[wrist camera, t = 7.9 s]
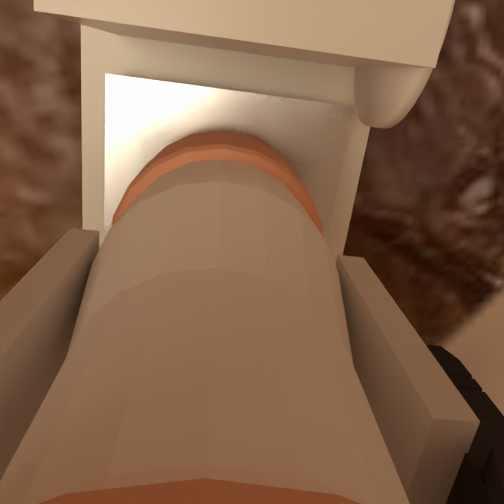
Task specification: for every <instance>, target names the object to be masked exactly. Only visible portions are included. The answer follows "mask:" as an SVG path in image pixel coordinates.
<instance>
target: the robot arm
mask: <svg viewBox="0 0 504 504" xmlns="http://www.w3.org/2000/svg"><path fill="white" fill-rule="evenodd" d="M98 251H99V231H95V230H85V229H75V228H70V229H69V230H68V231H67V232H66V233H65V235H64V236H63V237H62V238H61V239H60V240H59V241H58V242H57V243H56V244H55V245H54V246H53V247H52V248H51V249H50V250H49V251H48V252H47V253H46V254H45V255H44V256H43V257H42V258H41V259H40V260H39V261H38V263H37V264H36V265H35V266H34V267H33V268H32V269H31V270H30V271H29V272H28V273H27V274H26V275H25V276H24V277H23V278H22V279H21V280H20V281H19V282H18V283H17V284H16V285H15V286H14V287H13V288H12V289H11V291H10V292H9V293H8V294H7V295H6V296H5V297H4V298H3V299H2V300H1V301H0V481H1V479H2V477H3V475H4V473H5V471H6V469H7V467H8V466H9V464H10V462H11V460H12V458H13V456H14V454H15V453H16V451H17V449H18V447H19V445H20V443H21V441H22V440H23V438H24V436H25V434H26V432H27V430H28V428H29V426H30V425H31V423H32V421H33V419H34V417H35V415H36V413H37V412H38V410H39V408H40V406H41V404H42V402H43V400H44V398H45V397H46V395H47V393H48V391H49V389H50V387H51V385H52V384H53V382H54V380H55V378H56V376H57V374H58V372H59V371H60V369H61V367H62V365H63V363H64V361H65V359H66V357H67V353H68V350H69V346H70V342H71V339H72V335H73V331H74V327H75V324H76V320H77V316H78V313H79V309H80V305H81V302H82V298H83V294H84V290H85V287H86V283H87V279H88V276H89V272H90V268H91V265H92V262H93V260H94V258H95V256H96V254H97V253H98ZM335 266H336V269H337V271H338V274H339V280H340V286H341V292H342V298H343V305H344V311H345V317H346V323H347V329H348V335H349V341H350V347H351V353H352V359H353V366H354V368H355V371H356V373H357V376H358V378H359V380H360V383H361V385H362V388H363V390H364V393H365V395H366V398H367V400H368V402H369V405H370V407H371V410H372V412H373V415H374V417H375V420H376V422H377V425H378V427H379V429H380V432H381V434H382V437H383V439H384V442H385V444H386V447H387V449H388V451H389V454H390V456H391V459H392V461H393V464H394V466H395V469H396V471H397V474H398V476H399V478H400V481H401V483H402V486H403V488H404V491H405V493H406V496H407V498H408V500H409V503H410V504H504V416H503V414H502V413H501V412H500V411H499V410H498V408H497V407H496V406H495V404H494V403H493V402H492V401H491V400H490V398H489V397H488V396H487V394H486V393H485V392H482V388H481V387H480V385H479V384H478V383H477V382H476V380H475V379H472V375H471V374H470V373H469V371H468V370H467V369H466V368H465V366H464V365H463V364H462V363H461V361H460V360H458V359H457V358H456V357H454V356H453V355H452V354H451V353H449V352H448V351H446V350H445V349H444V348H442V347H441V346H433V345H425V343H424V342H423V341H422V339H421V338H420V336H419V335H418V334H417V332H416V331H415V329H414V328H413V327H412V325H411V324H410V322H409V321H408V320H407V318H406V317H405V315H404V314H403V313H402V311H401V310H400V308H399V307H398V306H397V304H396V303H395V301H394V300H393V299H392V297H391V296H390V294H389V293H388V291H387V290H386V289H385V287H384V286H383V284H382V283H381V282H380V280H379V279H378V277H377V276H376V275H375V273H374V272H373V270H372V269H371V268H370V266H369V265H368V263H367V262H366V261H365V259H364V258H363V257H353V256H343V255H337V260H336V265H335Z"/></svg>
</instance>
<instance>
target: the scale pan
mask: <svg viewBox="0 0 504 504" xmlns="http://www.w3.org/2000/svg"><path fill="white" fill-rule="evenodd" d="M353 108H354V106H350V105H345V104H337V103H330V102H322V101H315V100H307V99H300V98H292V97H285V96H277V95H269V94H262V93H254V92H247V91H239V90H232V89H224V88H217V87H209V86H201V85H194V84H186V83H179V82H171V81H164V80H156V79H149V78H141V77H133V76H126V75H118V74H111V73H110V74H106V82H105V192H104V239H105V237H106V235H107V233H108V231H109V229H110V228H111V227H112V220H113V215H114V213H115V211H116V209H117V207H118V205H119V203H120V201H121V199H122V197H123V195H124V193H125V191H126V189H127V187H128V186H129V184H130V183H131V182H132V181H133V180H134V178H135V177H136V176H137V175H138V174H139V172H140V171H141V170H142V169H143V168H144V166H145V165H146V164H147V163H148V162H149V161H151V160H152V159H153V158H154V157H155V156H156V155H157V154H158V153H159V152H160V151H161V150H162V149H163V148H164V147H165V146H166V145H169V144H171V143H173V142H175V141H177V140H180V139H182V138H184V137H186V136H188V135H191V134H193V133H201V132H211V131H221V130H225V131H229V132H234V133H238V134H243V135H247V136H252V137H254V138H256V139H258V140H259V141H261V142H263V143H264V144H266V145H268V146H269V147H271V148H273V149H274V150H276V151H278V152H279V153H280V154H281V156H282V157H283V158H284V159H285V160H286V162H287V163H288V164H289V165H290V166H291V167H292V169H293V170H294V171H295V172H296V173H297V175H298V176H299V178H300V179H301V181H302V182H303V184H304V185H305V187H306V188H307V190H308V191H309V193H310V195H311V197H312V199H313V202H314V204H315V207H316V209H317V212H318V214H319V217H320V219H321V222H322V225H323V237H324V239H325V241H326V243H327V238H328V233H329V228H330V223H331V218H332V213H333V208H334V203H335V198H336V193H337V188H338V183H339V178H340V173H341V168H342V163H343V158H344V153H345V148H346V143H347V138H348V133H349V128H350V123H351V118H352V113H353Z"/></svg>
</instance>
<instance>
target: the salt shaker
mask: <svg viewBox="0 0 504 504" xmlns="http://www.w3.org/2000/svg"><path fill="white" fill-rule="evenodd" d="M0 504H410V503H409V500H408V498H407V496H406V493H405V491H404V488H403V486H402V483H401V481H400V478H399V476H398V474H397V471H396V469H395V466H394V464H393V461H392V459H391V456H390V454H389V451H388V449H387V447H386V444H385V442H384V439H383V437H382V434H381V432H380V429H379V427H378V425H377V422H376V420H375V417H374V415H373V412H372V410H371V407H370V405H369V402H368V400H367V398H366V395H365V393H364V390H363V388H362V385H361V383H360V380H359V378H358V376H357V373H356V371H355V368H354V366H353V359H352V353H351V347H350V341H349V335H348V329H347V323H346V317H345V311H344V305H343V298H342V292H341V286H340V280H339V274H338V271H337V269H336V266H335V264H334V261H333V259H332V256H331V254H330V251H329V248H328V246H327V243H326V241H325V239H324V237H323V225H322V222H321V219H320V217H319V214H318V212H317V209H316V207H315V204H314V202H313V199H312V197H311V195H310V193H309V191H308V190H307V188H306V187H305V185H304V184H303V182H302V181H301V179H300V178H299V176H298V175H297V173H296V172H295V171H294V170H293V169H292V167H291V166H290V165H289V164H288V163H287V162H286V160H285V159H284V158H283V157H282V156H281V154H280V153H279V152H278V151H276V150H274V149H273V148H271V147H269V146H268V145H266V144H264V143H263V142H261V141H259V140H258V139H256V138H254V137H252V136H247V135H243V134H238V133H234V132H229V131H225V130H221V131H211V132H201V133H193V134H191V135H188V136H186V137H184V138H182V139H180V140H177V141H175V142H173V143H171V144H169V145H166V146H165V147H164V148H163V149H162V150H161V151H160V152H159V153H158V154H157V155H156V156H155V157H154V158H153V159H152V160H151V161H149V162H148V163H147V164H146V165H145V166H144V168H143V169H142V170H141V171H140V172H139V174H138V175H137V176H136V177H135V178H134V180H133V181H132V182H131V183H130V184H129V186H128V187H127V189H126V191H125V193H124V195H123V197H122V199H121V201H120V203H119V205H118V207H117V209H116V211H115V213H114V215H113V220H112V227H111V228H110V229H109V231H108V233H107V235H106V237H105V239H104V241H103V243H102V245H101V247H100V249H99V251H98V253H97V254H96V256H95V258H94V260H93V262H92V265H91V268H90V272H89V276H88V279H87V283H86V287H85V290H84V294H83V298H82V302H81V305H80V309H79V313H78V316H77V320H76V324H75V327H74V331H73V335H72V339H71V342H70V346H69V350H68V353H67V357H66V359H65V361H64V363H63V365H62V367H61V369H60V371H59V372H58V374H57V376H56V378H55V380H54V382H53V384H52V385H51V387H50V389H49V391H48V393H47V395H46V397H45V398H44V400H43V402H42V404H41V406H40V408H39V410H38V412H37V413H36V415H35V417H34V419H33V421H32V423H31V425H30V426H29V428H28V430H27V432H26V434H25V436H24V438H23V440H22V441H21V443H20V445H19V447H18V449H17V451H16V453H15V454H14V456H13V458H12V460H11V462H10V464H9V466H8V467H7V469H6V471H5V473H4V475H3V477H2V479H1V481H0Z"/></svg>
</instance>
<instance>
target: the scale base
mask: <svg viewBox="0 0 504 504" xmlns="http://www.w3.org/2000/svg"><path fill="white" fill-rule="evenodd" d="M454 3H455V0H34V11H37V12H40V13H43V14H47V15H50V16H54V17H57V18H61V19H64V20H68V21H71V22H75V23H78V24H81V98H82V208H83V229H85V230H95V231H99V249H100V247H101V245H102V243H103V241H104V192H105V82H106V74H110V73H111V74H118V75H126V76H133V77H141V78H149V79H156V80H164V81H171V82H179V83H186V84H194V85H201V86H209V87H217V88H224V89H232V90H239V91H247V92H254V93H262V94H269V95H277V96H285V97H292V98H300V99H307V100H315V101H322V102H330V103H337V104H345V105H350V106H354V108H353V113H352V118H351V123H350V128H349V133H348V138H347V143H346V148H345V153H344V158H343V163H342V168H341V173H340V178H339V183H338V188H337V193H336V198H335V203H334V208H333V213H332V218H331V223H330V228H329V233H328V238H327V246H328V248H329V251H330V254H331V256H332V259H333V261H334V264H335V265H336V260H337V255H343V251H344V246H345V242H346V237H347V233H348V228H349V223H350V219H351V214H352V209H353V205H354V200H355V195H356V191H357V186H358V182H359V177H360V172H361V168H362V163H363V158H364V154H365V149H366V144H367V140H368V135H369V131H370V127H376V128H384V129H387V128H391V127H393V126H395V125H396V124H398V123H399V122H400V121H401V120H402V119H403V118H404V117H405V116H406V115H407V114H408V112H409V111H410V110H411V108H412V107H413V105H414V104H415V102H416V101H417V99H418V97H419V96H420V94H421V92H422V90H423V88H424V87H425V85H426V83H427V81H428V79H429V76H430V74H431V72H432V70H433V68H436V64H437V60H438V56H439V52H440V50H441V47H442V44H443V41H444V38H445V35H446V32H447V29H448V26H449V22H450V18H451V15H452V11H453V7H454Z"/></svg>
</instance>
